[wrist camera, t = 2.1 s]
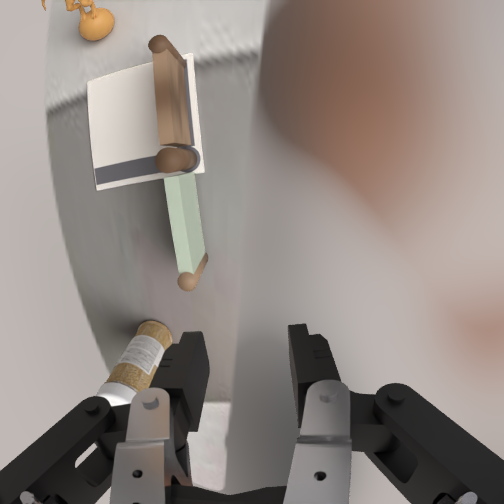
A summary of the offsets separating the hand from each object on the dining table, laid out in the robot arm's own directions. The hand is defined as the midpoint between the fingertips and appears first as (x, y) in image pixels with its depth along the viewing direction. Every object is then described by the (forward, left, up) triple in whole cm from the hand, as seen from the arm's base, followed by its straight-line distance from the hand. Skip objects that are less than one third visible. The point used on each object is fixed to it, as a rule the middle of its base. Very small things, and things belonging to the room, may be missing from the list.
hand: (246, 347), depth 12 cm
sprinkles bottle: (+3, -17, -19) cm, 26 cm away
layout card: (-16, -2, -19) cm, 25 cm away
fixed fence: (-14, +2, -19) cm, 23 cm away
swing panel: (-5, -4, -19) cm, 19 cm away
